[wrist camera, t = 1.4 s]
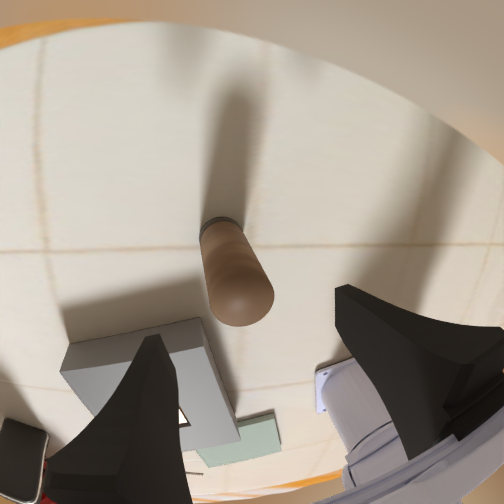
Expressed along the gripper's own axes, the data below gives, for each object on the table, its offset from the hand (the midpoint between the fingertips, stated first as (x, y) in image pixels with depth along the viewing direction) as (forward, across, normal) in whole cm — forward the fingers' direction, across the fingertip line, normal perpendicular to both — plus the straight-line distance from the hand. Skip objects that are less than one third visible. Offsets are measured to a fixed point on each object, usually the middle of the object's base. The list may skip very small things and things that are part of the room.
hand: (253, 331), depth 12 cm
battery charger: (+10, +31, +19) cm, 38 cm away
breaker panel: (+10, +9, +13) cm, 19 cm away
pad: (+10, +4, +26) cm, 28 cm away
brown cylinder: (+10, 0, 0) cm, 10 cm away
